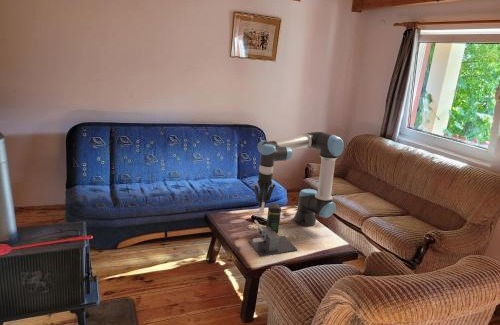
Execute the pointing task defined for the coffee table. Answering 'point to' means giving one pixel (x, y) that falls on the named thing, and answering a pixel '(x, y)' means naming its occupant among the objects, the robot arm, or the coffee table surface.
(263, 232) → the keeper
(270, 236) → the hitch block
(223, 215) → the coffee table surface
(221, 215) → the coffee table surface
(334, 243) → the coffee table surface
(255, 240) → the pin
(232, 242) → the coffee table surface
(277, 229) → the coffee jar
